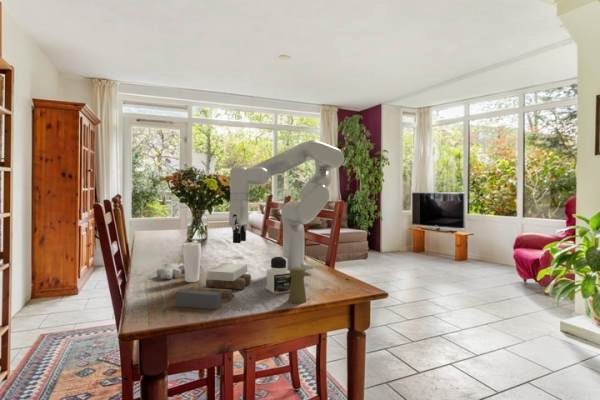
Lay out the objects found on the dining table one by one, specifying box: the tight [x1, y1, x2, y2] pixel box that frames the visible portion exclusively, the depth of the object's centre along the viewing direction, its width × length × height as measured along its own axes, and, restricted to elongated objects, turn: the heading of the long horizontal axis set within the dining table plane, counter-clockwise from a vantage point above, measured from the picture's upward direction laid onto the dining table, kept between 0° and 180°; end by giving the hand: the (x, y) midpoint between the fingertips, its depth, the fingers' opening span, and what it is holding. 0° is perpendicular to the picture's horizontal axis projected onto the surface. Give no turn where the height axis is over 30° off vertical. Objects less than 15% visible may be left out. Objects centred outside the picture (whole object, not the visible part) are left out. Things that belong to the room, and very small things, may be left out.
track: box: [205, 273, 252, 303], centre depth 125 cm, size 14×23×4 cm, turn 168°
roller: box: [189, 286, 233, 302], centre depth 116 cm, size 14×4×4 cm, turn 78°
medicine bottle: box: [266, 256, 291, 295], centre depth 126 cm, size 7×7×12 cm
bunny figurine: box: [156, 262, 184, 280], centre depth 145 cm, size 10×5×15 cm
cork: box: [288, 267, 307, 305], centre depth 114 cm, size 6×6×11 cm
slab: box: [206, 262, 248, 281], centre depth 130 cm, size 10×14×3 cm
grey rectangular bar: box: [175, 288, 223, 311], centre depth 108 cm, size 14×3×4 cm, turn 78°
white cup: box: [182, 241, 202, 283], centre depth 137 cm, size 7×7×15 cm
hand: (239, 241), depth 141 cm, fingers open, 4 cm apart
